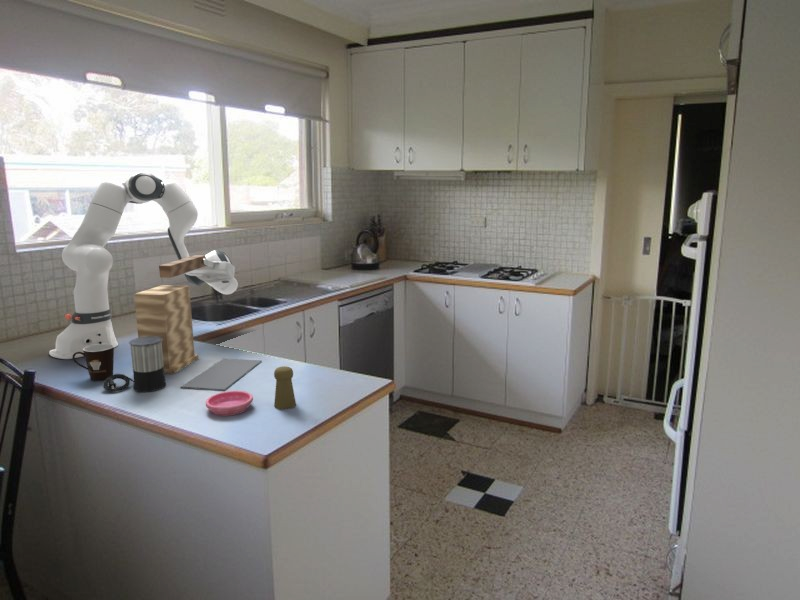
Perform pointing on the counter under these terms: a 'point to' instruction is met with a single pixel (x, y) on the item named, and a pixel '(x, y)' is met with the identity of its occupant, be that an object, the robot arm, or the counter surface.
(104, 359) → the coffee mug
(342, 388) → the counter surface
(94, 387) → the counter surface
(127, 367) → the counter surface
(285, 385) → the cork
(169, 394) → the counter surface
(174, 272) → the walnut bar
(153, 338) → the milk frother
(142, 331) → the oak block
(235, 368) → the rubber mat
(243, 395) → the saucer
